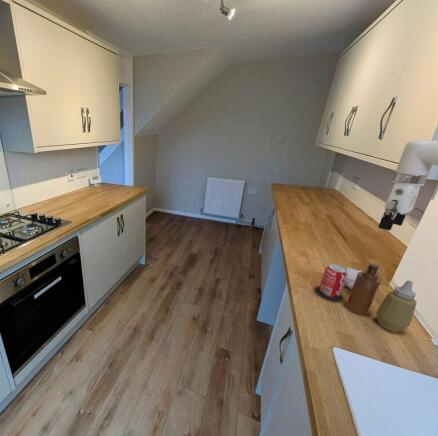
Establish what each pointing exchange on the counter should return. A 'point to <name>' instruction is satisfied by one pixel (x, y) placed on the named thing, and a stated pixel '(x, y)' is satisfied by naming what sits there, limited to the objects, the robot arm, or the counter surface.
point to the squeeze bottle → (397, 308)
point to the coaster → (328, 296)
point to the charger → (351, 277)
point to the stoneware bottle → (364, 290)
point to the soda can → (333, 280)
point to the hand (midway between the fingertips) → (389, 226)
